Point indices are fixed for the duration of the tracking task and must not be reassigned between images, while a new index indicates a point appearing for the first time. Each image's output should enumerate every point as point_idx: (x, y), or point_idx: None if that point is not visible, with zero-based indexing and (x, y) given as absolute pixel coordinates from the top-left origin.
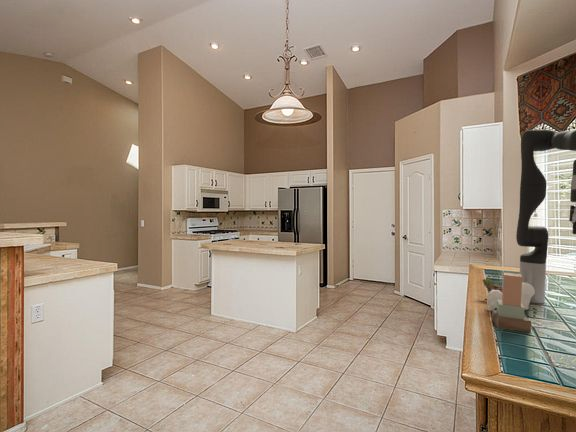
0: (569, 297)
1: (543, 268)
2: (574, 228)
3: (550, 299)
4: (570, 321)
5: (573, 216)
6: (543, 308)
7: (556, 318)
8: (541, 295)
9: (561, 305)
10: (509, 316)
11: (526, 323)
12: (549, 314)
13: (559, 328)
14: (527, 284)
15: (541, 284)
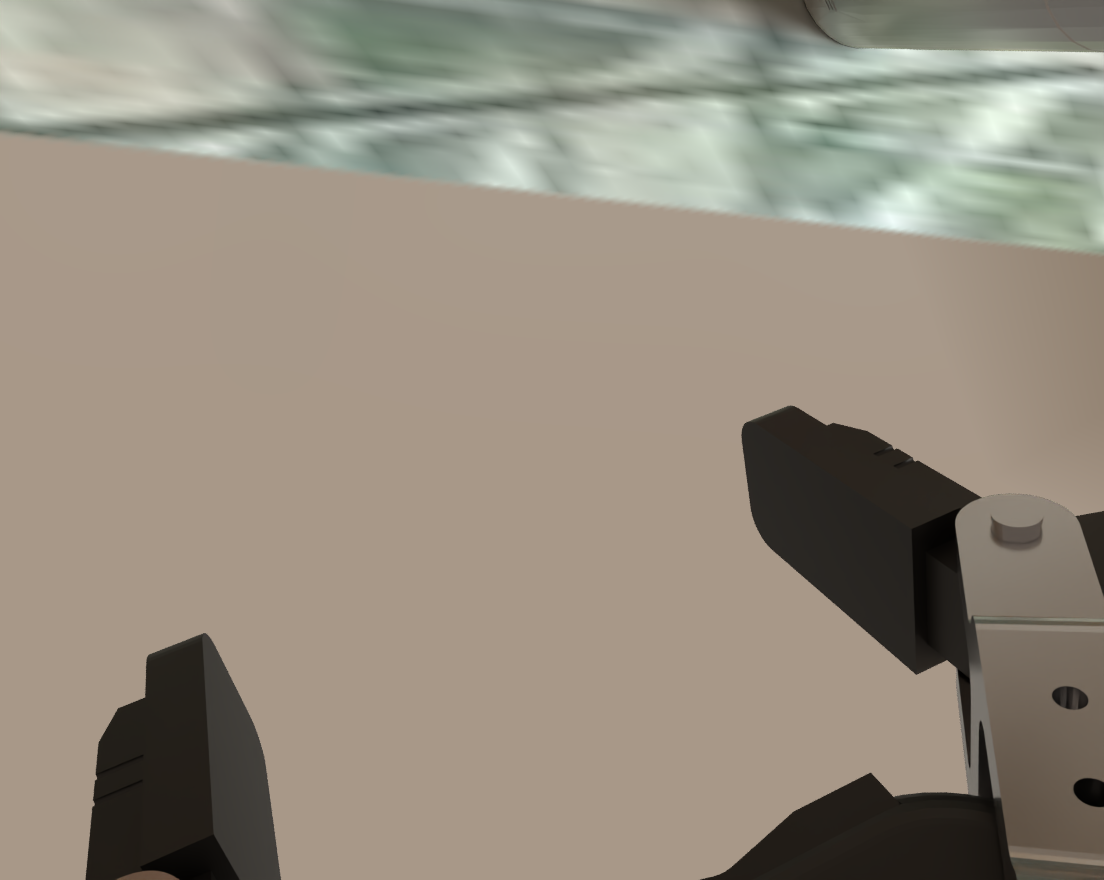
0: (1084, 240)
1: (1078, 21)
2: (826, 487)
3: (980, 107)
4: (348, 164)
5: (1035, 664)
6: (660, 12)
7: (372, 71)
8: (855, 14)
9: (829, 161)
10: None
11: None
12: (477, 33)
13: (14, 49)
14: None
15: (927, 8)
